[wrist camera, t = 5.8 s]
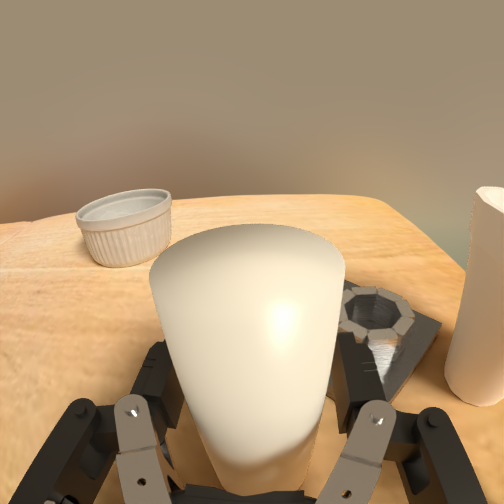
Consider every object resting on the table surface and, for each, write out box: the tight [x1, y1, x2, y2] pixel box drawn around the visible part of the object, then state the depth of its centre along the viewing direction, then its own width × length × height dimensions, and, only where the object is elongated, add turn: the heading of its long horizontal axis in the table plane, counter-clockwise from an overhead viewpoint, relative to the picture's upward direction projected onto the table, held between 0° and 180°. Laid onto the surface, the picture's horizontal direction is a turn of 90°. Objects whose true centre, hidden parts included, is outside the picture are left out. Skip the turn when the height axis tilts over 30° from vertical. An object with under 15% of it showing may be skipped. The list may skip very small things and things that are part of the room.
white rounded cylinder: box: [149, 224, 345, 496], centre depth 11 cm, size 5×5×13 cm
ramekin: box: [76, 189, 172, 268], centre depth 38 cm, size 13×13×7 cm
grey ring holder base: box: [326, 280, 442, 404], centre depth 24 cm, size 20×11×4 cm, turn 41°
